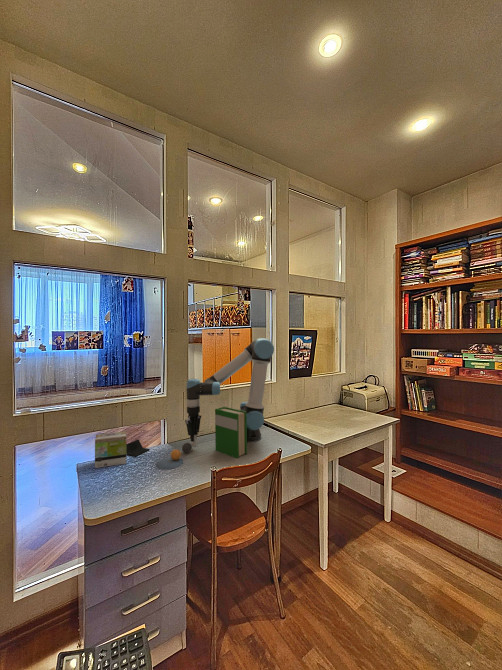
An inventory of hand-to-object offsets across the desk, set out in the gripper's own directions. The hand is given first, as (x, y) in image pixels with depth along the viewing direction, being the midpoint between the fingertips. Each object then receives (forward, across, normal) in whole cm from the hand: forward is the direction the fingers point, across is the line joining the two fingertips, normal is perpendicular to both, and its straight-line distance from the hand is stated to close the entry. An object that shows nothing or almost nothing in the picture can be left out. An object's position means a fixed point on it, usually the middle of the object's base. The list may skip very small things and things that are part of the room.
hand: (193, 446), depth 179 cm
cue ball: (-1, +6, -1) cm, 6 cm away
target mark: (+2, +21, 0) cm, 21 cm away
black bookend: (+2, +17, -27) cm, 32 cm away
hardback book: (+2, -5, +22) cm, 23 cm away
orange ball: (-1, +16, 0) cm, 16 cm away
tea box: (+2, +33, -29) cm, 44 cm away
